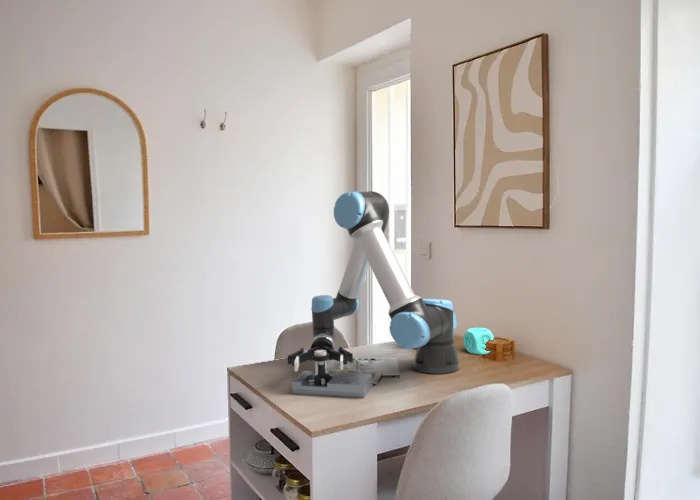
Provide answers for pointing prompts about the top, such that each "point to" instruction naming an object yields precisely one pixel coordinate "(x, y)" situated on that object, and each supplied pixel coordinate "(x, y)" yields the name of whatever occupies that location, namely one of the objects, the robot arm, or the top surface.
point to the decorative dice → (477, 340)
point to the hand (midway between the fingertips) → (318, 366)
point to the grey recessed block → (334, 385)
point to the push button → (320, 367)
